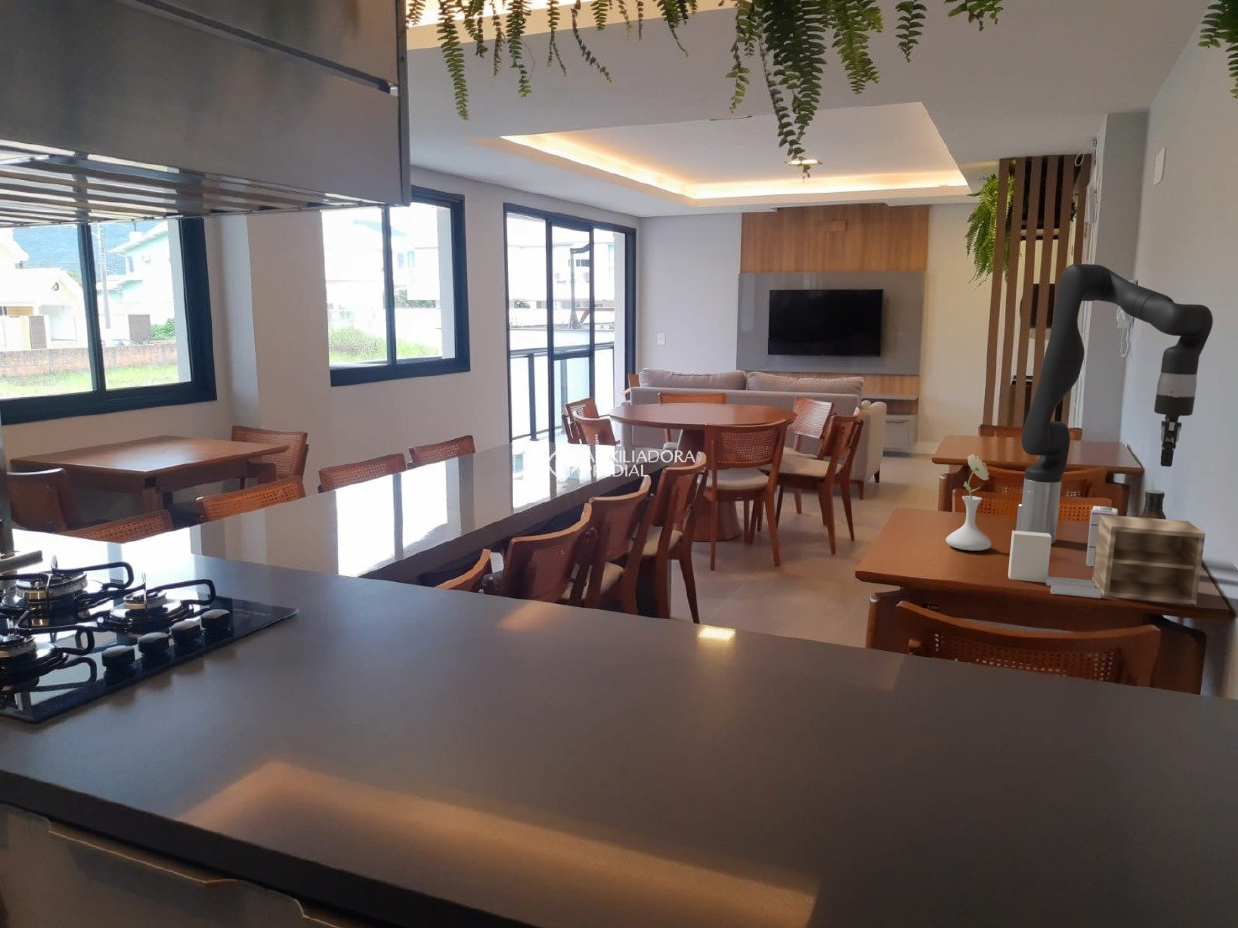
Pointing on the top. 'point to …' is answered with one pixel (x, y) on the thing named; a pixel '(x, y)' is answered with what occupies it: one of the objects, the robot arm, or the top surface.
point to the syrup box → (1096, 530)
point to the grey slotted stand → (1073, 587)
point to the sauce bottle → (1153, 505)
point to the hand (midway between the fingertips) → (1165, 463)
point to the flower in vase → (971, 515)
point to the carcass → (1148, 559)
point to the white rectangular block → (1029, 556)
